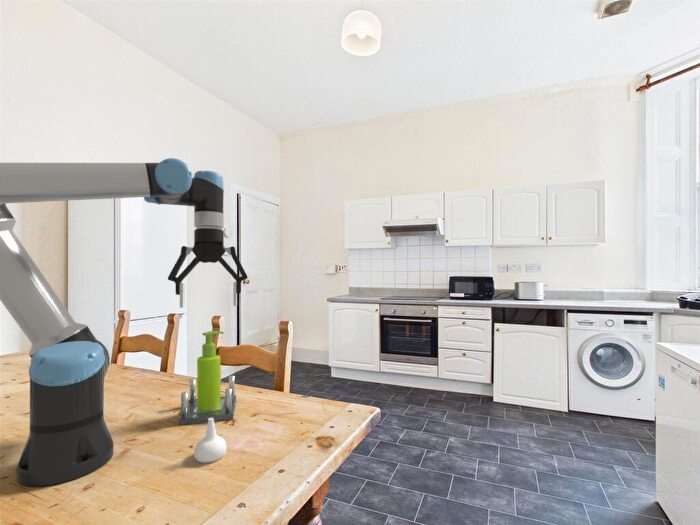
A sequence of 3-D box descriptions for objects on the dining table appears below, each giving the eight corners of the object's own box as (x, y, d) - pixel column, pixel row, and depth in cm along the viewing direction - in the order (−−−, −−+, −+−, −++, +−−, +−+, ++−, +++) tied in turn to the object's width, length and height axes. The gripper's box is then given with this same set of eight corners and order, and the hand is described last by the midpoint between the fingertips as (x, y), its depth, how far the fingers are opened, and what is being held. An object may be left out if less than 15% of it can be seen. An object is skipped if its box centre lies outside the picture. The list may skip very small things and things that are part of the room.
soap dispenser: (228, 404, 99) (227, 331, 99) (203, 411, 94) (203, 334, 94) (217, 399, 103) (217, 329, 103) (193, 406, 98) (193, 332, 98)
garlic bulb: (215, 468, 71) (218, 428, 71) (186, 462, 72) (190, 423, 72) (231, 452, 77) (234, 415, 77) (204, 447, 78) (207, 410, 78)
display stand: (233, 419, 93) (233, 390, 93) (178, 425, 90) (178, 394, 90) (236, 400, 107) (236, 374, 107) (188, 404, 103) (188, 378, 104)
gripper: (256, 231, 106) (256, 303, 105) (162, 229, 100) (162, 306, 99) (255, 228, 99) (256, 306, 98) (155, 226, 92) (155, 309, 92)
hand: (209, 306), depth 99 cm, fingers open, 13 cm apart
